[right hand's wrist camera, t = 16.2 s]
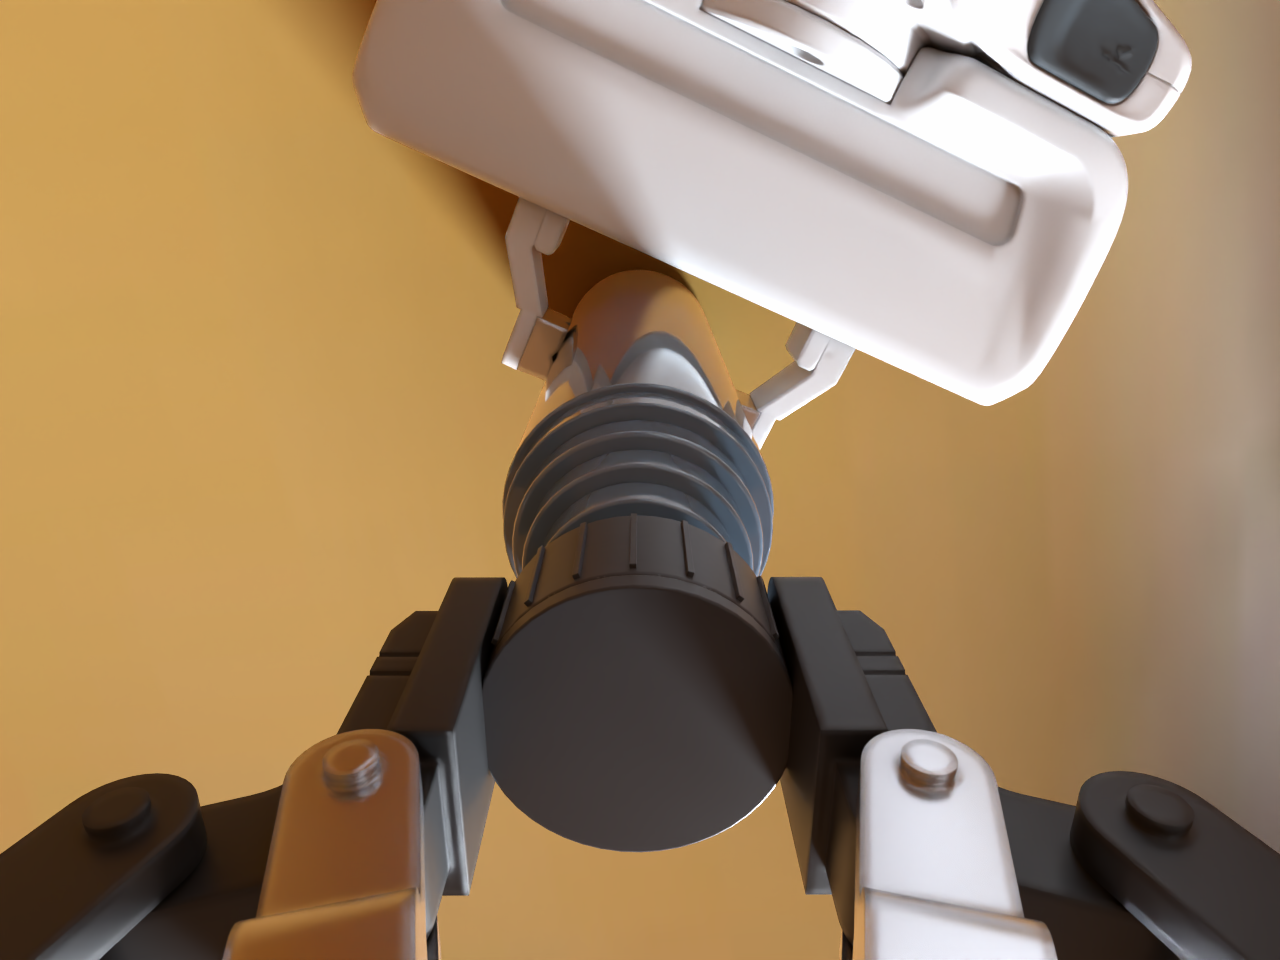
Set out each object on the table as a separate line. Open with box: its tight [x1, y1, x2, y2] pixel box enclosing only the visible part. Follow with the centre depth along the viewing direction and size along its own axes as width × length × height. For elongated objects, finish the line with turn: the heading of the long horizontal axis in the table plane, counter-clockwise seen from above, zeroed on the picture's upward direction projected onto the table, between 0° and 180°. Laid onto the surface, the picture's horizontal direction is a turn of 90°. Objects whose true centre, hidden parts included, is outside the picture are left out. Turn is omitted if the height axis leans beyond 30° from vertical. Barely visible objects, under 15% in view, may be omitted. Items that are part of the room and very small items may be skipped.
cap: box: [482, 513, 793, 852], centre depth 11 cm, size 4×4×2 cm
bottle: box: [503, 269, 774, 578], centre depth 21 cm, size 5×5×22 cm
